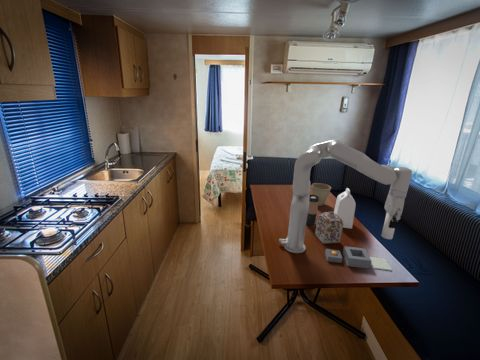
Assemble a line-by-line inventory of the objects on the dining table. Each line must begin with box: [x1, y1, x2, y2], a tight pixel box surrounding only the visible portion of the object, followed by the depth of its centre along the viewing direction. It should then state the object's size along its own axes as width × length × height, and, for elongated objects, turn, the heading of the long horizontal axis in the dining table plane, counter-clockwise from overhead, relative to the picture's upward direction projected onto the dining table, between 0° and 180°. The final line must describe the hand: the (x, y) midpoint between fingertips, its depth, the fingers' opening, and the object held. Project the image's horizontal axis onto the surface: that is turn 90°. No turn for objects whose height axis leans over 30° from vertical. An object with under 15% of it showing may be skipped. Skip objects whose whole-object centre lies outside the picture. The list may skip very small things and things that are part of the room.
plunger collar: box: [324, 248, 344, 264], centre depth 145 cm, size 8×8×3 cm
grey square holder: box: [342, 245, 372, 269], centre depth 143 cm, size 11×11×5 cm
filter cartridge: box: [380, 211, 396, 240], centre depth 134 cm, size 5×5×16 cm
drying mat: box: [369, 256, 393, 272], centre depth 142 cm, size 9×10×1 cm
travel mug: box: [306, 194, 319, 226], centre depth 181 cm, size 8×8×20 cm
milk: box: [333, 187, 357, 229], centre depth 182 cm, size 12×12×26 cm
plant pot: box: [311, 182, 332, 207], centre depth 215 cm, size 15×15×16 cm
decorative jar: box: [314, 211, 343, 245], centre depth 162 cm, size 12×12×18 cm
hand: (389, 224), depth 135 cm, fingers closed on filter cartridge, 5 cm apart
